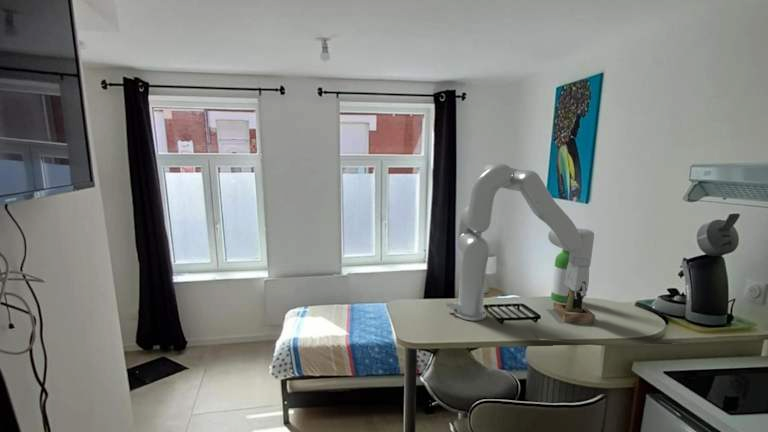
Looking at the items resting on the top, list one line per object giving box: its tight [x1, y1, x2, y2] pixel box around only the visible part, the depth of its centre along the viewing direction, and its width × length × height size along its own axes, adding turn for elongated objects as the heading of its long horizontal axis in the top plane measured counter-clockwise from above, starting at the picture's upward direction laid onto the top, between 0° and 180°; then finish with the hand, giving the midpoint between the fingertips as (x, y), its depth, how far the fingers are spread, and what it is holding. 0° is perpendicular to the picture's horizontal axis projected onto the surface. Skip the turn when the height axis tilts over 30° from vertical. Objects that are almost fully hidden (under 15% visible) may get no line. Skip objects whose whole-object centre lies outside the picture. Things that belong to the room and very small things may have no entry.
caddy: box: [552, 302, 596, 324], centre depth 143 cm, size 11×11×4 cm
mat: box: [545, 308, 597, 327], centre depth 144 cm, size 14×13×1 cm
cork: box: [565, 288, 582, 313], centre depth 142 cm, size 6×6×11 cm
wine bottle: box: [550, 249, 570, 303], centre depth 160 cm, size 8×8×30 cm
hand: (573, 305), depth 143 cm, fingers closed on cork, 4 cm apart
